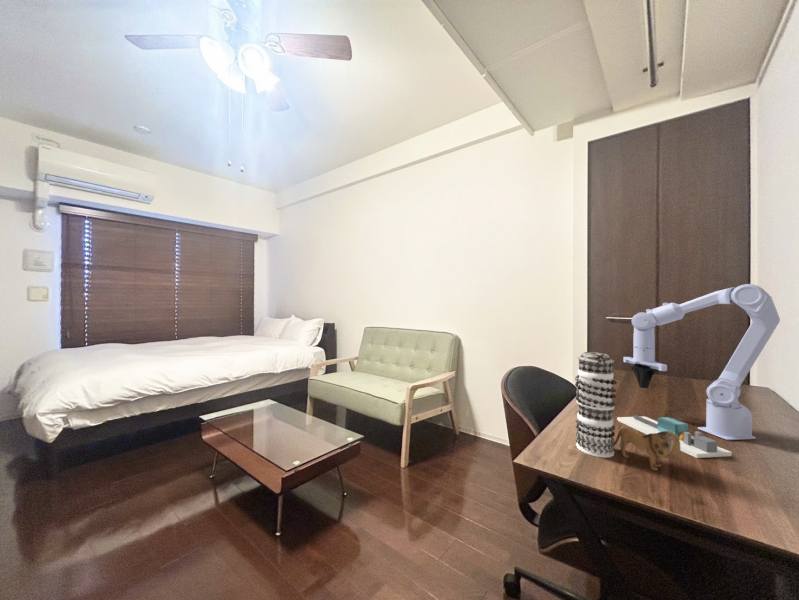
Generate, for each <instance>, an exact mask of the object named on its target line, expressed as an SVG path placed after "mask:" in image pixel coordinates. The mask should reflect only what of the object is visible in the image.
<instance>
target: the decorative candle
mask: <svg viewBox="0 0 799 600" xmlns="http://www.w3.org/2000/svg"><path fill="white" fill-rule="evenodd" d="M577 359H578V369H577V375H576V376H575V377H574V378H575V379H574V380H575V381H576V382H575V384H574V386H575V387H576V389H575V394H576V396H575V400H576V401H575V402H576V403H577V405H578V406H577V408H578V409H577V410H578V411H577V416H576V417H577V418H576V419H575V423H577V424H576V426H575V428H576V429H577V430H576V431H575V436H576V437H575V441H576V444H575V447H576V446H577V447H576V449H578V450H579V451H580V450H581V451H580V452H582V453H584V454H586V455H589V456H593V457H596V458H612V457H614V456H615V451H614V450H615V448H616V447H615V446H616V445H615V446H614V445H613V444H614V443H615V441H616V438H614V437H615V432H614V431H615V429H616V428H615V427H616V426H615V425H614V417H613V410H615V406H616V403H615V402H614V401H613V399H615V398H617V396H616V394H614V393H615V392H617V389H616V388H614V387H613V385H617V383H618V382H617V381H616V380H615V379H616V376H614V367H613V366H614V364H613V363H614V362H615V360H614V359H612V358H611V357H610V356H609V354H607V353H603V352H597V351H596V352H595V351H584V352H583V353H582V354H581V355H580V356H578V357H577Z"/></svg>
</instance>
